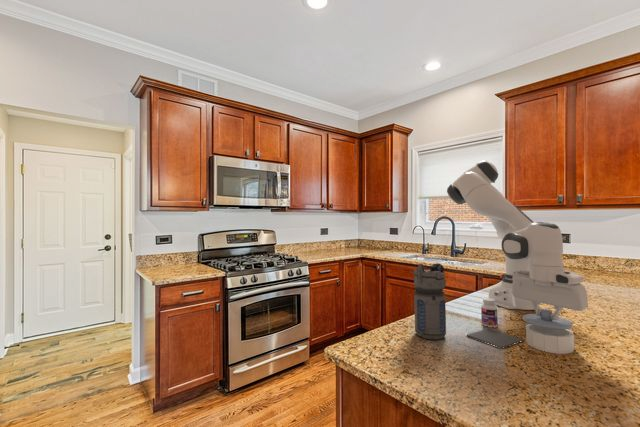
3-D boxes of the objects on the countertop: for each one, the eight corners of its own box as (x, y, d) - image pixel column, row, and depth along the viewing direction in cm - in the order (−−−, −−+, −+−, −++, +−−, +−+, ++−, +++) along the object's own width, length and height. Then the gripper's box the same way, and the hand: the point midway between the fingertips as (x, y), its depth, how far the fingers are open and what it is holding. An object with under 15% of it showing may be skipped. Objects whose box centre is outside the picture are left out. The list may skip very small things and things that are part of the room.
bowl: (518, 343, 101) (517, 327, 101) (539, 336, 106) (538, 321, 106) (561, 357, 90) (560, 339, 90) (581, 348, 96) (581, 332, 96)
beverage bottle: (456, 334, 109) (454, 262, 109) (433, 344, 101) (431, 266, 101) (430, 326, 117) (429, 259, 117) (407, 335, 109) (406, 263, 110)
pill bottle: (479, 325, 117) (479, 299, 118) (483, 322, 121) (483, 296, 122) (495, 328, 114) (495, 301, 114) (499, 325, 118) (498, 299, 118)
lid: (514, 319, 101) (514, 308, 101) (536, 314, 107) (536, 302, 107) (559, 332, 90) (558, 318, 90) (581, 324, 96) (580, 312, 96)
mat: (466, 336, 107) (466, 334, 107) (488, 330, 113) (488, 328, 113) (501, 349, 96) (501, 347, 96) (523, 341, 102) (523, 339, 102)
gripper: (507, 270, 106) (507, 311, 106) (579, 280, 88) (580, 329, 88) (518, 268, 109) (518, 308, 109) (590, 277, 91) (591, 325, 91)
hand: (547, 317), depth 98 cm, fingers closed on lid, 3 cm apart
